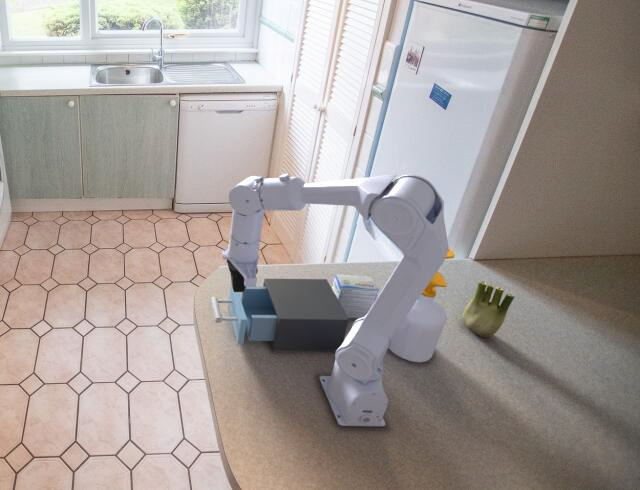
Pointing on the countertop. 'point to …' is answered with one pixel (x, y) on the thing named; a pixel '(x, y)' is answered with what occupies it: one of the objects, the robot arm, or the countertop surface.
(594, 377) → the countertop surface
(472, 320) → the fennel bulb
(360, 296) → the medicine box
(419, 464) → the countertop surface
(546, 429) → the countertop surface
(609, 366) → the countertop surface
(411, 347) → the soap bottle
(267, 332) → the blue drawer
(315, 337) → the dark grey drawer cabinet
